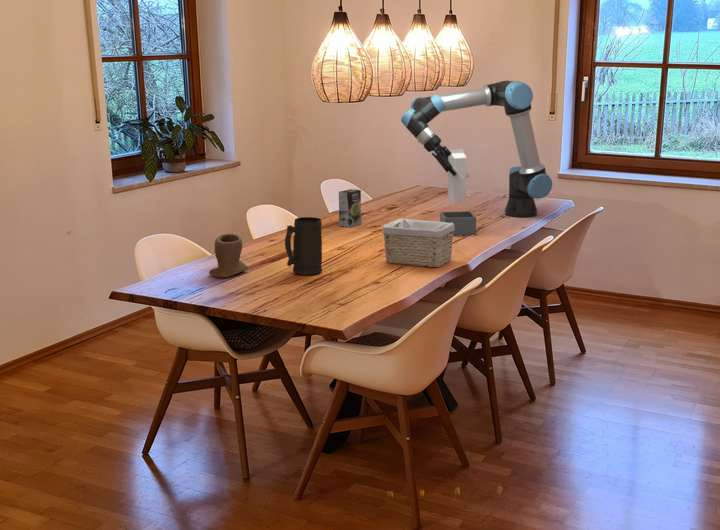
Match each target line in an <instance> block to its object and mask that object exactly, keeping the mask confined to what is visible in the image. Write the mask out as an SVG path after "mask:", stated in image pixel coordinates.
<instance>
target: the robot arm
mask: <svg viewBox="0 0 720 530" xmlns="http://www.w3.org/2000/svg"><path fill="white" fill-rule="evenodd" d="M533 99H534V94H533V91H532V88H531V87H530V86H529V84H527V83H526V82H522V81H520V80H516V81H515V80H503V81H502V80H501V81H497V82H495V83H494V82H493V83H490V84H485V85H483V86H482V87H479V88H475V89H469V90H468V89H466V90H462V91H461V90H460V91H456V92H450V93H443V94H434V95H432V96H426V97H422V96H421V97H415V98H414V99H413V100H412V101H411V103H410V109H409V110H407V111H406V112H404V113H403V115H402V116H401V118H400V122H401V123H402V125H404V127H405V128H406V129H407V130H408V132H409V133H410V134H411V135H413V137H414V138H415V139H417V143H420V144H421V146H423V148H424V149H425V150H426V151H427V152H428V153H430V152H431V155H432V156H433V157H434V158H435V160H436V161H437V162H438V163H439V164H440V166H441V168H442V169H443V170H444V171H445V172H446V173H448V171H449V172H450V173H451V174H452V175H453V177H454V178H455V179H456V180H457V181H458V182H461V181H462V180H463V179H464V178H463V177H462V175H461V174H460V173H459V172H458V171H457V170H456V169H455V168H454V167H453V168H452V166H451V164H450V162H449V161H448V156H449V155H450V154H451V151H450V149H449V148H448V147H447V146H446V145H444V146H442V145H441V143H442V139H441V138H440V137H439V136H438V134H436V132H435V131H434V130H433V129H432V128H431V127H430V125H429V123H430V122H431V121H432V120H434V119H435V118H436V117H437V116H438V115H440V114H441V113H442V112H448V111H454V110H455V111H456V110H460V109H461V110H462V109H466V108H472V107H479V106H486V107H491V106H495V107H498V106H500V107H503V109H504V113H505V116H507V117H508V118H509V119H510V123H511V128H512V131H513V135H514V136H513V137H514V140H515V144H516V149H517V150H516V151H517V153H518V158H519V162H520V165H521V166H513V167H511V168H509V173H508V177H509V179H508V184H509V185H508V200H507V202H506V206H505V208H504V215H505V216H508V217H513V218H530V217H535V216H537V214H538V208H537V205H536V201H535V199H540V200H541V199H543V198H545V197H547V196H548V195H549V194H550V192H551V190H552V188H553V180H552V177H550V176H549V175H548V174H547V171H546V168H545V164H542V163H541V159H540V156H539V151H538V147H537V141H536V138H535V134H534V128H533V125H532V120H531V116H530V112H531V111H532V101H533ZM470 176H471V174H470V173H469V172H468V171H467V178H466V180H468V178H469V177H470Z"/></svg>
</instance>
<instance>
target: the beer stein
mask: <svg viewBox="0 0 720 530" xmlns="http://www.w3.org/2000/svg"><path fill="white" fill-rule="evenodd" d="M293 225H294V226H293ZM293 225H287V226H286V232H285V233H286V234H285V239H284V247H285V248H284V249H285V251H286V254H287V257H288V260H287V262H286V263H287V264H286V265H287V267H290V266H292V265H293V268H292V272H293V273H294V274H298V275H299V274H300V275H308V276H309V275H319V274H320V273H322V272H323V268H322V262H323V237H322V225H323V224H322V219H321V218H320V217H314V216H313V217H312V216H303V217H297V218H295V219H294V223H293ZM293 233H294V236H293V245H292V244H291V243H292V241H291V240H292V235H293ZM292 246H293V248H292ZM292 249H293V250H292Z"/></svg>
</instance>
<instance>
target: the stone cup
mask: <svg viewBox="0 0 720 530" xmlns="http://www.w3.org/2000/svg"><path fill="white" fill-rule="evenodd" d="M242 250H243V240H242V238H241V236H239V235H238V234H234V233H223V234H220V235H219V236H218V237H217V238H215V241H214V255H215V258H216V261H217V267H214V268H212V269H210V270H209V271H208V274H209V275H210V276H212V277H216V278H228V277H232V276H234V275H237V274H239V273H242V272H244V271H247V270H248V269H249V267H248V265H247V264H245V263H244V262H243V261H241V260H240V258H241V254H242Z"/></svg>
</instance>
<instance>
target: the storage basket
mask: <svg viewBox="0 0 720 530" xmlns="http://www.w3.org/2000/svg"><path fill="white" fill-rule="evenodd" d="M454 230H455V227H454V223H446V222H440V221H434V220H433V221H431V220H422V219H420V220H419V219H413V218H412V219H411V218H397V219H396V220H393V221H391V222H388V223H386V224H385V225H382V234H383V237H384V252H385V261H386V263H389V264H396V265H397V264H399V265H400V264H401V265H406V266H416V267H425V266H427V267H429V268H439V267H441V266H443V265H445V264H446V263H448V262H449V261H450V260H452V252H453V238H454V236H453V231H454ZM444 263H445V264H444Z"/></svg>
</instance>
